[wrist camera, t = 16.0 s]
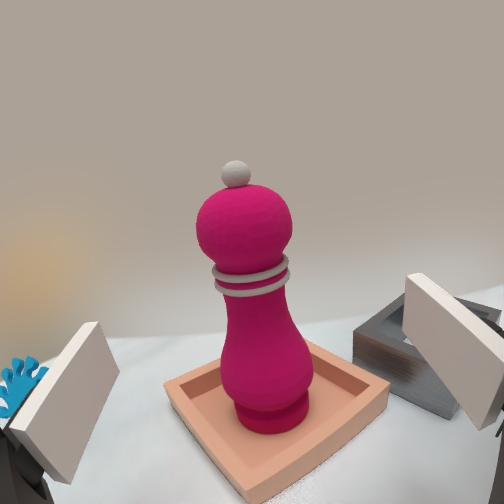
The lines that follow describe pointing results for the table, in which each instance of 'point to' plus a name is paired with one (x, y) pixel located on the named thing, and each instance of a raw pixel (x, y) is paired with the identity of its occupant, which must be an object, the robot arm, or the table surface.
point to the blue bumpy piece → (19, 383)
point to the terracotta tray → (285, 443)
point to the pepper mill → (256, 303)
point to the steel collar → (406, 357)
